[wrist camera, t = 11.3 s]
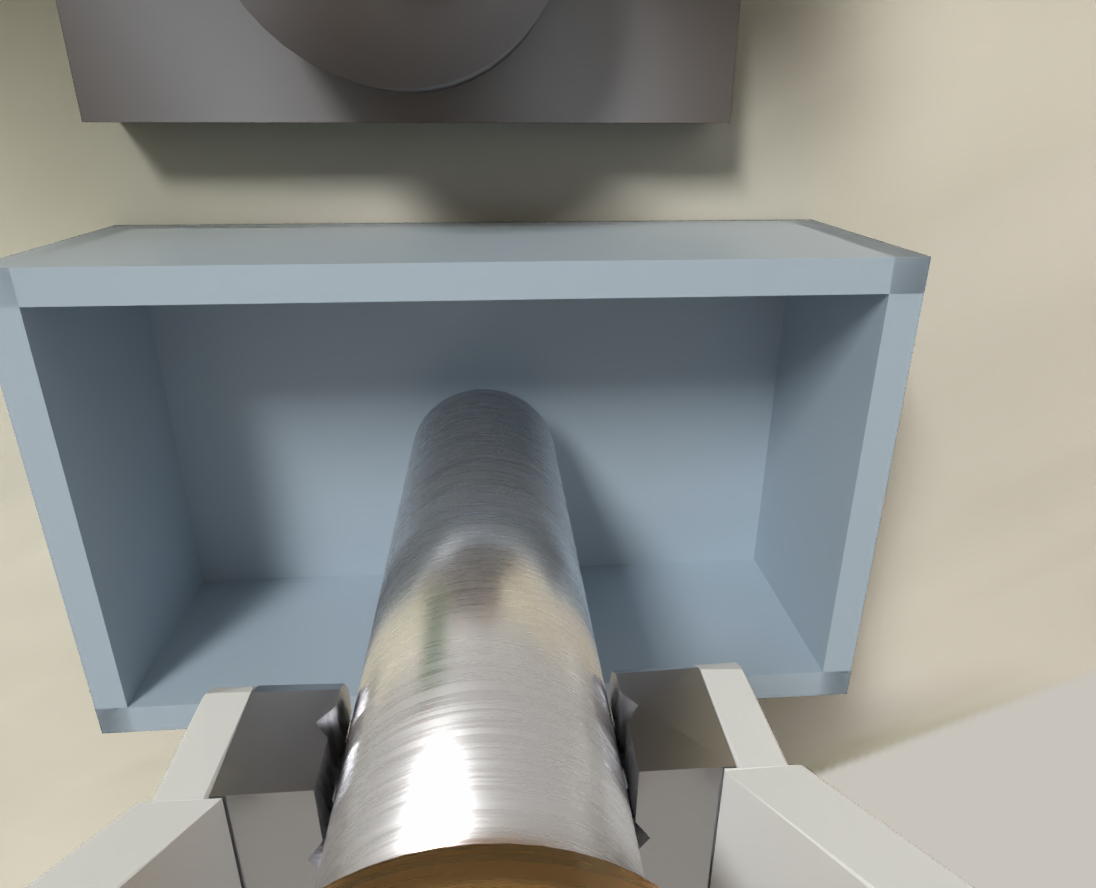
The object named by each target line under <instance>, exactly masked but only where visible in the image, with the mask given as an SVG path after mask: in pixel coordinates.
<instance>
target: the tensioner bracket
mask: <svg viewBox="0 0 1096 888" xmlns="http://www.w3.org/2000/svg"><path fill="white" fill-rule="evenodd" d="M56 4H57V9H58V13H59V18H60V22H61V27H62V32H63V36H64V41H65V45H66V50H67V55H68V59H69V64H70V68H71V73H72V77H73V82H74V87H75V91H76V96H77V100H78V105H79V110H80V114H81V119H82V122H468V123H730V113H731V101H732V90H733V78H734V67H735V55H736V43H737V32H738V20H739V9H740V0H56Z"/></svg>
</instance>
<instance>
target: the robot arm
mask: <svg viewBox="0 0 1096 888" xmlns="http://www.w3.org/2000/svg"><path fill="white" fill-rule="evenodd" d="M609 700H610V705H611V709H612V714H613V719H614V721H613V722H612V723H613V728H614V733H615V737H616V742H617V747H618V752H619V756H620V761H621V766H622V771H623V775H624V780H625V785H626V790H627V794H628V799H629V804H630V809H631V813H632V818H633V823H634V828H635V832H636V837H637V842H638V847H639V851H640V856H641V861H642V866H643V870H644V875H645V879H647V880H648V881H650V882H652V883H654V884H655V885H657V886H659V887H660V888H974V887H973V886H971V885H970V884H968V883H967V882H966V881H964V880H963V879H962V878H960V877H958V876H957V875H956V874H954V873H953V872H952V871H950V870H949V869H947V868H946V867H945V866H943V865H942V864H940V863H939V862H938V861H936V860H935V859H933V858H932V857H931V856H929V855H928V854H926V853H925V852H923V851H922V850H921V849H919V848H918V847H917V846H915V845H914V844H912V843H911V842H909V841H908V840H907V839H905V838H904V837H902V836H901V835H900V834H898V833H897V832H895V831H894V830H893V829H891V828H890V827H888V826H887V825H886V824H884V823H883V822H881V821H880V820H878V819H877V818H876V817H874V816H873V815H871V814H870V813H869V812H867V811H866V810H864V809H863V808H862V807H860V806H859V805H857V804H856V803H855V802H853V801H852V800H850V799H849V798H848V797H846V796H845V795H843V794H842V793H840V792H839V791H838V790H836V789H835V788H833V787H832V786H831V785H829V784H828V783H826V782H825V781H824V780H822V779H821V778H819V777H818V776H817V775H815V774H814V773H812V772H811V771H810V770H808V769H807V768H805V767H804V766H803V765H788V763H787V761H786V759H785V757H784V755H783V753H782V750H781V748H780V746H779V744H778V742H777V740H776V738H775V736H774V734H773V731H772V729H771V727H770V725H769V723H768V721H767V719H766V717H765V715H764V713H763V710H762V708H761V706H760V704H759V702H758V700H757V698H756V696H755V694H754V692H753V689H752V687H751V685H750V683H749V681H748V679H747V677H746V675H745V673H744V670H743V668H742V667H741V666H740V665H739V664H737V663H736V662H731V663H717V664H703V665H695V666H694V667H692V666H688V667H669V668H651V669H633V670H614V671H612V673H611V678H610V691H609ZM351 713H352V708H351V701H350V695H349V689H348V687H347V686H346V685H345V683H336V684H297V685H258V686H257V687H254V686H245V687H213V688H212V689H211V690H210V691H209V692H207V693H206V694H205V695H204V696H203V698H202V700H201V702H200V704H199V706H198V708H197V710H196V712H195V714H194V716H193V718H192V720H191V722H190V724H189V726H188V728H187V730H186V732H185V734H184V736H183V738H182V740H181V742H180V744H179V746H178V748H177V751H176V753H175V755H174V757H173V759H172V761H171V763H170V765H169V767H168V769H167V771H166V773H165V775H164V777H163V779H162V781H161V783H160V785H159V787H158V789H157V791H156V793H155V795H154V797H153V799H152V801H151V802H145V803H136V804H135V805H133V806H132V807H131V808H129V809H128V810H127V811H126V812H124V813H123V814H122V815H120V816H119V817H118V818H116V819H115V820H114V821H112V822H111V823H110V824H108V825H107V826H106V827H105V828H103V829H102V830H101V831H99V832H98V833H97V834H95V835H94V836H93V837H91V838H90V839H89V840H87V841H86V842H85V843H84V844H82V845H81V846H80V847H78V848H77V849H76V850H74V851H73V852H72V853H70V854H69V855H68V856H66V857H65V858H64V859H63V860H61V861H60V862H59V863H57V864H56V865H55V866H53V867H52V868H51V869H49V870H48V871H47V872H46V873H44V874H43V875H42V876H40V877H39V878H38V879H36V880H35V881H34V882H32V883H31V884H30V885H28V886H27V887H26V888H315V883H316V879H317V874H318V870H319V865H320V861H321V856H322V852H323V847H324V843H325V838H326V834H327V829H328V825H329V820H330V815H331V811H332V806H333V802H334V797H335V793H336V788H337V784H338V779H339V775H340V770H341V766H342V761H343V757H344V752H345V748H346V743H347V739H348V733H347V732H348V727H349V722H350V718H351Z"/></svg>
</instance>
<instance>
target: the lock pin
mask: <svg viewBox="0 0 1096 888" xmlns="http://www.w3.org/2000/svg"><path fill="white" fill-rule="evenodd" d="M315 888H660V887H659V886H657V885H655V884H654V883H652V882H650V881H648V880H647V879H645V875H644V870H643V866H642V861H641V856H640V851H639V847H638V842H637V837H636V832H635V828H634V823H633V818H632V813H631V809H630V804H629V799H628V794H627V790H626V785H625V780H624V775H623V771H622V766H621V761H620V756H619V752H618V747H617V742H616V737H615V733H614V728H613V723H612V718H611V714H610V709H609V704H608V699H607V695H606V690H605V685H604V680H603V676H602V671H601V666H600V661H599V657H598V652H597V647H596V642H595V638H594V633H593V628H592V623H591V619H590V614H589V609H588V604H587V600H586V595H585V590H584V586H583V581H582V576H581V571H580V567H579V562H578V557H577V552H576V548H575V543H574V538H573V533H572V529H571V524H570V519H569V514H568V510H567V505H566V500H565V495H564V491H563V486H562V481H561V476H560V472H559V467H558V462H557V457H556V453H555V448H554V443H553V438H552V435H551V433H550V430H549V428H548V426H547V424H546V422H545V421H544V419H543V418H542V417H541V415H540V414H539V413H538V412H537V411H536V410H535V409H534V408H533V407H532V406H531V405H529V404H528V403H527V402H525V401H524V400H522V399H520V398H519V397H516V396H514V395H512V394H509V393H506V392H502V391H498V390H492V389H477V390H469V391H464V392H461V393H458V394H455V395H453V396H451V397H449V398H447V399H445V400H443V401H442V402H440V403H439V404H437V405H436V406H435V407H434V408H433V409H432V410H430V412H429V413H428V414H427V415H426V416H425V417H424V419H423V420H422V422H421V424H420V425H419V427H418V429H417V432H416V434H415V438H414V441H413V445H412V450H411V454H410V459H409V463H408V468H407V472H406V477H405V482H404V486H403V491H402V495H401V500H400V504H399V509H398V513H397V518H396V522H395V527H394V531H393V536H392V540H391V545H390V549H389V554H388V558H387V563H386V567H385V572H384V576H383V581H382V585H381V590H380V594H379V599H378V603H377V608H376V612H375V617H374V621H373V626H372V630H371V635H370V639H369V644H368V649H367V653H366V658H365V662H364V667H363V671H362V676H361V680H360V685H359V689H358V694H357V698H356V703H355V707H354V712H353V716H352V721H351V725H350V730H349V734H348V739H347V743H346V748H345V752H344V757H343V761H342V766H341V770H340V775H339V779H338V784H337V788H336V793H335V797H334V802H333V806H332V811H331V815H330V820H329V825H328V829H327V834H326V838H325V843H324V847H323V852H322V856H321V861H320V865H319V870H318V874H317V879H316V883H315Z"/></svg>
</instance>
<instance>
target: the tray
mask: <svg viewBox="0 0 1096 888" xmlns="http://www.w3.org/2000/svg"><path fill="white" fill-rule="evenodd" d="M930 259H931V257H930V256H927V255H924V254H920V253H917V252H914V251H911V250H908V249H904V248H901V247H898V246H895V245H891V244H888V243H885V242H882V241H879V240H875V239H872V238H869V237H866V236H862V235H859V234H856V233H853V232H850V231H846V230H843V229H840V228H837V227H834V226H830V225H827V224H824V223H821V222H817V221H814V220H704V221H582V222H460V223H338V224H216V225H114V226H110V227H107V228H103V229H100V230H97V231H93V232H90V233H86V234H83V235H79V236H76V237H72V238H69V239H66V240H62V241H59V242H55V243H52V244H48V245H45V246H41V247H38V248H35V249H31V250H28V251H24V252H21V253H17V254H14V255H10V256H7V257H3V258H0V385H1V388H2V392H3V395H4V398H5V402H6V405H7V409H8V412H9V416H10V419H11V422H12V426H13V429H14V433H15V436H16V440H17V443H18V446H19V450H20V453H21V457H22V460H23V464H24V467H25V470H26V474H27V477H28V481H29V484H30V487H31V491H32V494H33V498H34V501H35V505H36V508H37V511H38V515H39V518H40V522H41V525H42V529H43V532H44V535H45V539H46V542H47V546H48V549H49V553H50V556H51V559H52V563H53V566H54V570H55V573H56V577H57V580H58V583H59V587H60V590H61V594H62V597H63V601H64V604H65V607H66V611H67V614H68V618H69V621H70V625H71V628H72V631H73V635H74V638H75V642H76V645H77V649H78V652H79V655H80V659H81V662H82V666H83V669H84V673H85V676H86V679H87V683H88V686H89V690H90V693H91V697H92V700H93V703H94V707H95V710H96V714H97V717H98V720H99V724H100V727H101V731H102V733H119V732H138V731H157V730H175V729H187V728H188V726H189V724H190V722H191V720H192V718H193V716H194V714H195V712H196V710H197V708H198V706H199V704H200V702H201V700H202V698H203V696H204V695H205V694H206V693H207V692H209V691H210V690H211V689H212V688H213V687H245V686H254V687H257V686H258V685H297V684H336V683H345V685H346V686H347V687H348V689H349V695H350V701H351V708H352V713H351V718H350V720H352V716H353V712H354V707H355V703H356V698H357V694H358V689H359V685H360V680H361V676H362V671H363V667H364V662H365V658H366V653H367V649H368V644H369V639H370V635H371V630H372V626H373V621H374V617H375V612H376V608H377V603H378V599H379V594H380V590H381V585H382V581H383V576H384V572H385V567H386V563H387V558H388V554H389V549H390V545H391V540H392V536H393V531H394V527H395V522H396V518H397V513H398V509H399V504H400V500H401V495H402V491H403V486H404V482H405V477H406V472H407V468H408V463H409V459H410V454H411V450H412V445H413V441H414V438H415V434H416V432H417V429H418V427H419V425H420V424H421V422H422V420H423V419H424V417H425V416H426V415H427V414H428V413H429V412H430V410H432V409H433V408H434V407H435V406H436V405H437V404H439V403H440V402H442V401H443V400H445V399H447V398H449V397H451V396H453V395H455V394H458V393H461V392H464V391H469V390H477V389H492V390H498V391H502V392H506V393H509V394H512V395H514V396H516V397H519V398H520V399H522V400H524V401H525V402H527V403H528V404H529V405H531V406H532V407H533V408H534V409H535V410H536V411H537V412H538V413H539V414H540V415H541V417H542V418H543V419H544V421H545V422H546V424H547V426H548V428H549V430H550V433H551V435H552V438H553V443H554V448H555V453H556V457H557V462H558V467H559V472H560V476H561V481H562V486H563V491H564V495H565V500H566V505H567V510H568V514H569V519H570V524H571V529H572V533H573V538H574V543H575V548H576V552H577V557H578V562H579V567H580V571H581V576H582V581H583V586H584V590H585V595H586V600H587V604H588V609H589V614H590V619H591V623H592V628H593V633H594V638H595V642H596V647H597V652H598V657H599V661H600V666H601V671H602V676H603V680H604V685H605V690H606V695H607V699H608V704H609V706H611V705H610V700H609V691H610V678H611V673H612V671H614V670H633V669H651V668H669V667H688V666H692V667H694V666H695V665H703V664H717V663H731V662H736V663H737V664H739V665H740V666H741V667H742V668H743V670H744V673H745V675H746V677H747V679H748V681H749V683H750V685H751V687H752V689H753V692H754V694H755V696H756V698H757V699H758V698H777V697H796V696H815V695H834V694H847V689H848V684H849V679H850V674H851V668H852V663H853V658H854V653H855V648H856V643H857V637H858V632H859V627H860V622H861V617H862V611H863V606H864V601H865V596H866V591H867V586H868V580H869V575H870V570H871V565H872V560H873V555H874V549H875V544H876V539H877V534H878V529H879V523H880V518H881V513H882V508H883V503H884V498H885V492H886V487H887V482H888V477H889V472H890V467H891V461H892V456H893V451H894V446H895V441H896V435H897V430H898V425H899V420H900V415H901V410H902V404H903V399H904V394H905V389H906V384H907V379H908V373H909V368H910V363H911V358H912V353H913V347H914V342H915V337H916V332H917V327H918V322H919V316H920V311H921V306H922V301H923V296H924V291H925V285H926V280H927V275H928V270H929V265H930Z"/></svg>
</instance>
